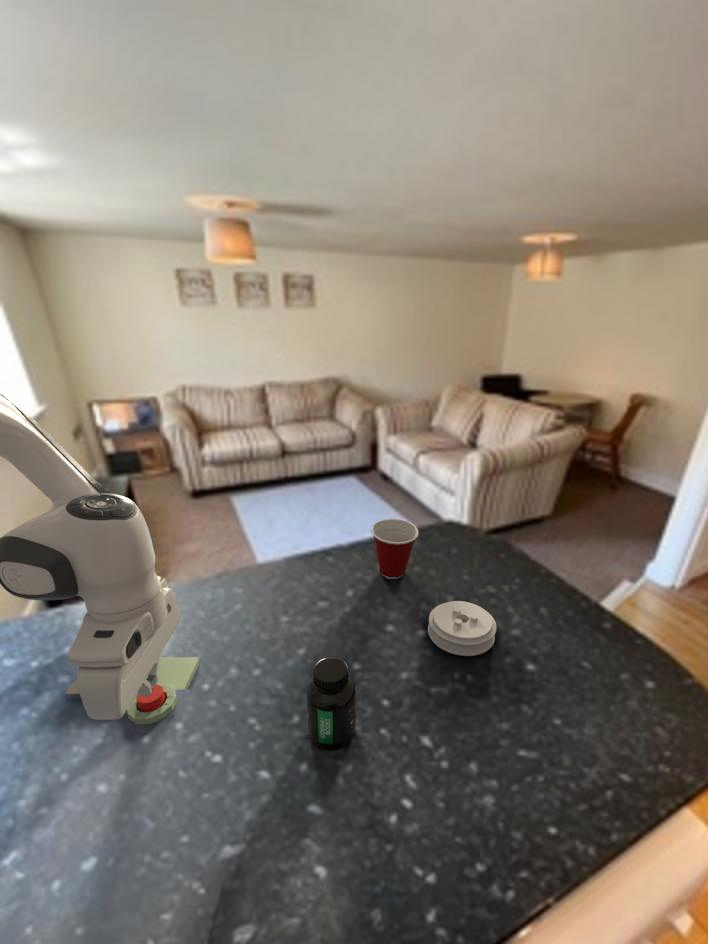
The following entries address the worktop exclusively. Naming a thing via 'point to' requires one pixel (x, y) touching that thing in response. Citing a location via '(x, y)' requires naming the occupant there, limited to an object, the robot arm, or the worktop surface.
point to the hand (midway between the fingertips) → (149, 688)
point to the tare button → (151, 700)
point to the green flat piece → (167, 687)
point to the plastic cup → (393, 545)
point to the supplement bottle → (331, 704)
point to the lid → (462, 628)
